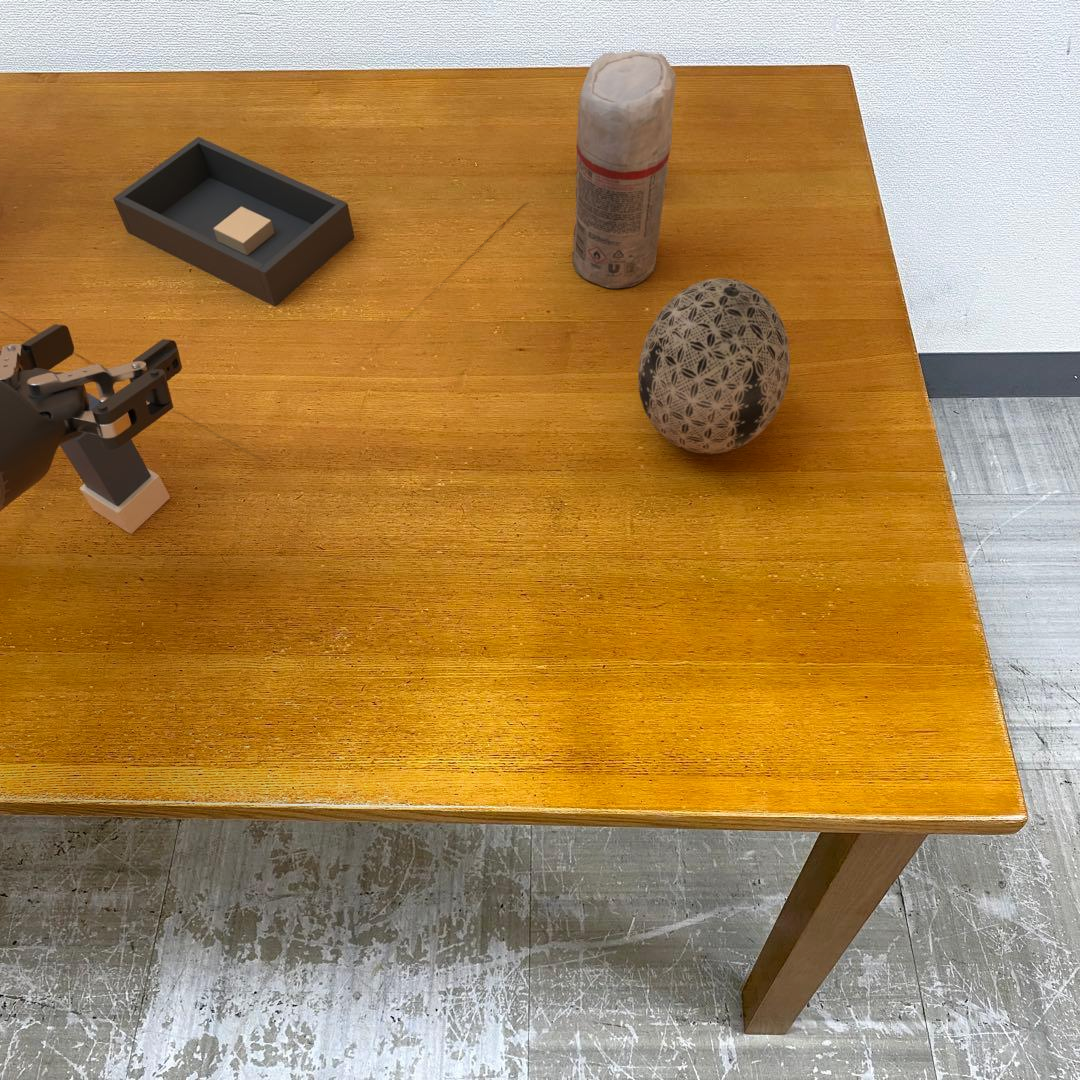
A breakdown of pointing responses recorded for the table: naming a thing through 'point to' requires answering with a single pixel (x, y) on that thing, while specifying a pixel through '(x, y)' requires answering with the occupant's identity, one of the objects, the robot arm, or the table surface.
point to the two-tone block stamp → (115, 479)
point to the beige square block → (244, 230)
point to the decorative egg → (714, 366)
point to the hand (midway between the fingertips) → (119, 344)
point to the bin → (214, 194)
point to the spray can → (622, 166)
